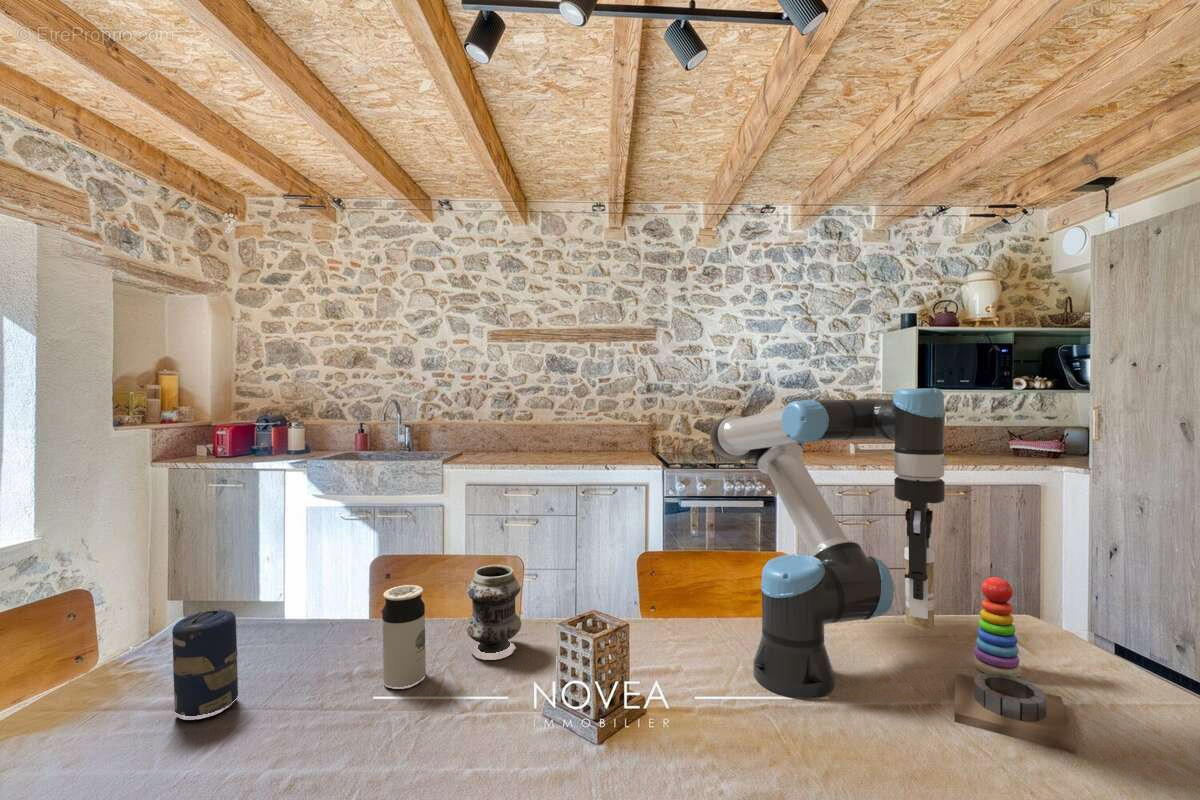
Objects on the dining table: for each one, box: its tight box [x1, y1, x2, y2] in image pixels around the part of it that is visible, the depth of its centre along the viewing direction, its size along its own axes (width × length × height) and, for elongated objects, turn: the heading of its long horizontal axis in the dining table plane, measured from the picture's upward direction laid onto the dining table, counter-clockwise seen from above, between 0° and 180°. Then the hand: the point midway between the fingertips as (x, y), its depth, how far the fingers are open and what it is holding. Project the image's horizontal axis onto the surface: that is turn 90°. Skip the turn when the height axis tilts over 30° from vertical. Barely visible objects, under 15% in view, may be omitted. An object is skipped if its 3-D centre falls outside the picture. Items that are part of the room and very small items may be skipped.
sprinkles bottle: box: [903, 545, 936, 631], centre depth 95 cm, size 5×5×14 cm
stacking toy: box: [972, 576, 1023, 678], centre depth 111 cm, size 8×8×19 cm
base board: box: [954, 672, 1078, 755], centre depth 97 cm, size 16×16×2 cm
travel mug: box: [381, 584, 427, 687], centre depth 110 cm, size 8×8×18 cm
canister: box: [171, 609, 239, 716], centre depth 100 cm, size 10×10×18 cm
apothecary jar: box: [465, 564, 522, 653], centre depth 122 cm, size 12×12×18 cm
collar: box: [973, 672, 1046, 722], centre depth 97 cm, size 10×10×3 cm
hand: (919, 611), depth 95 cm, fingers closed on sprinkles bottle, 4 cm apart
